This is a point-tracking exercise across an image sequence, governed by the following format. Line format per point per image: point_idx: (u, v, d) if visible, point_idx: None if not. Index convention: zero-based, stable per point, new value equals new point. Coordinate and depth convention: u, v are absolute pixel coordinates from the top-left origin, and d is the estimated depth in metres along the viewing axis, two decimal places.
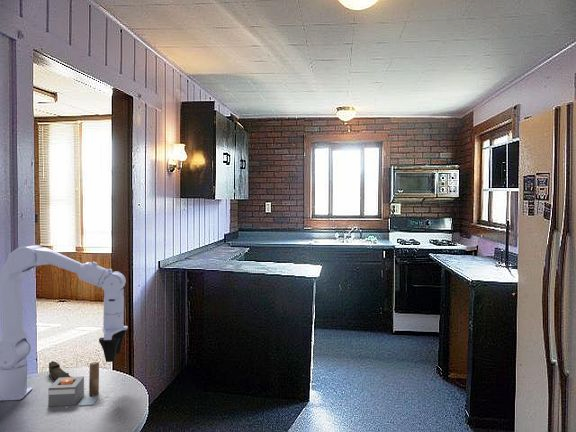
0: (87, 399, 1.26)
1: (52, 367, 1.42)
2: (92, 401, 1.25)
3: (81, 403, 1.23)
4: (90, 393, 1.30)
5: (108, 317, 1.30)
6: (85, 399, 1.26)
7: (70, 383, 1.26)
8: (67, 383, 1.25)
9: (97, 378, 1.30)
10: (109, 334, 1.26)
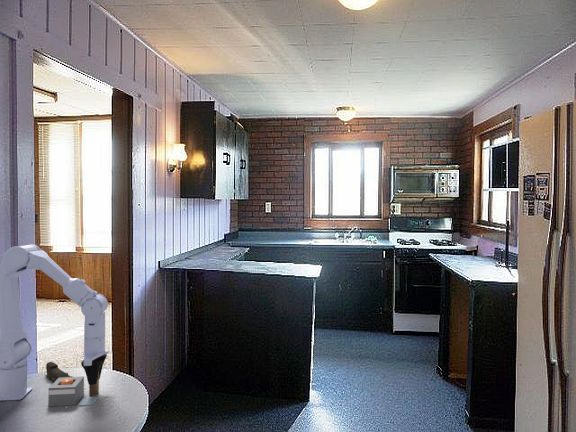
0: (87, 399, 1.26)
1: (50, 367, 1.42)
2: (92, 401, 1.25)
3: (81, 403, 1.23)
4: (90, 393, 1.30)
5: (88, 342, 1.28)
6: (85, 399, 1.26)
7: (70, 383, 1.26)
8: (67, 383, 1.25)
9: None
10: (89, 360, 1.24)
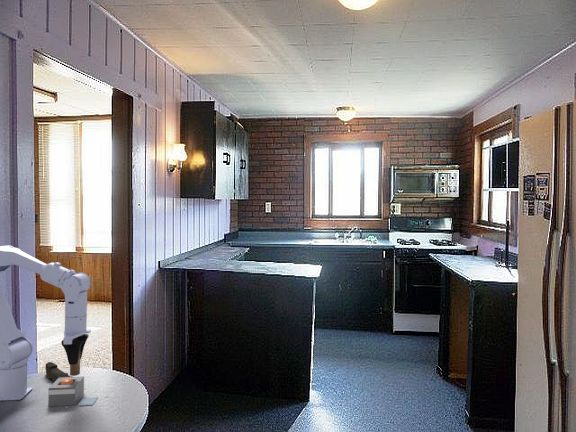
0: (87, 399, 1.26)
1: (50, 368, 1.42)
2: (92, 401, 1.25)
3: (81, 403, 1.23)
4: (71, 373, 1.27)
5: (69, 320, 1.25)
6: (85, 399, 1.26)
7: (70, 383, 1.26)
8: (67, 383, 1.25)
9: (79, 358, 1.27)
10: (69, 338, 1.21)
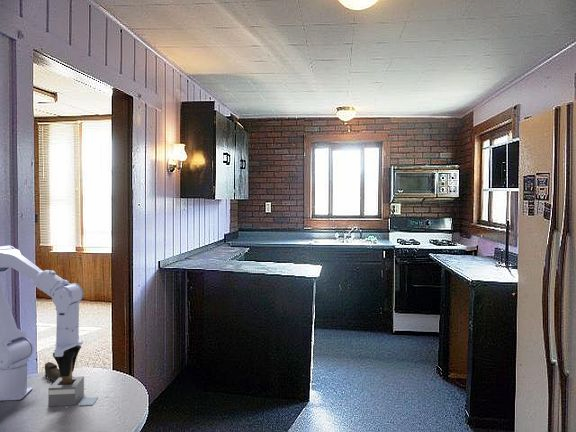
0: (87, 399, 1.26)
1: (49, 368, 1.42)
2: (92, 401, 1.25)
3: (81, 403, 1.23)
4: None
5: (61, 332, 1.24)
6: (85, 399, 1.26)
7: None
8: None
9: (71, 370, 1.26)
10: (60, 350, 1.19)
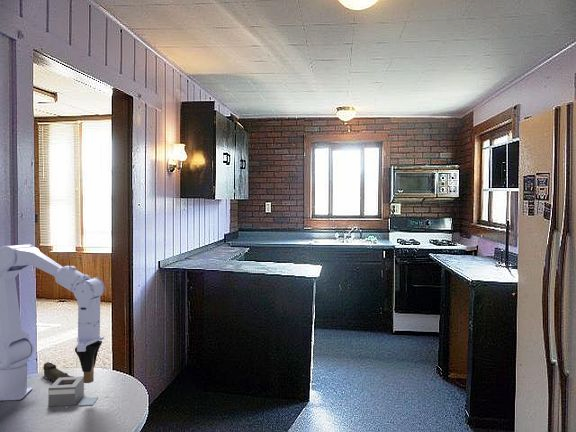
0: (87, 399, 1.26)
1: (48, 368, 1.41)
2: (92, 401, 1.25)
3: (81, 403, 1.23)
4: (84, 381, 1.24)
5: (82, 327, 1.22)
6: (85, 399, 1.26)
7: None
8: None
9: (92, 365, 1.25)
10: (83, 345, 1.18)
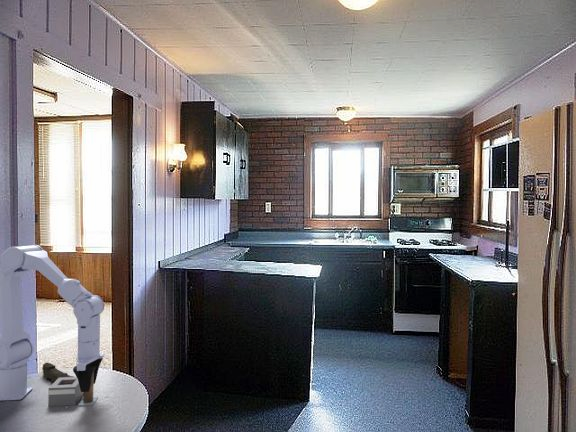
0: None
1: (48, 368, 1.41)
2: (92, 401, 1.25)
3: (81, 403, 1.23)
4: (84, 400, 1.24)
5: (82, 345, 1.22)
6: None
7: None
8: None
9: (92, 385, 1.25)
10: (82, 364, 1.18)
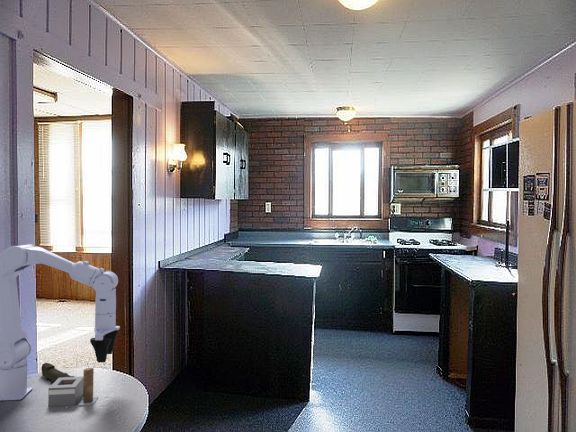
0: None
1: (47, 368, 1.41)
2: (92, 401, 1.25)
3: (81, 403, 1.23)
4: (84, 400, 1.24)
5: (100, 317, 1.29)
6: None
7: None
8: None
9: (92, 385, 1.25)
10: (100, 334, 1.24)
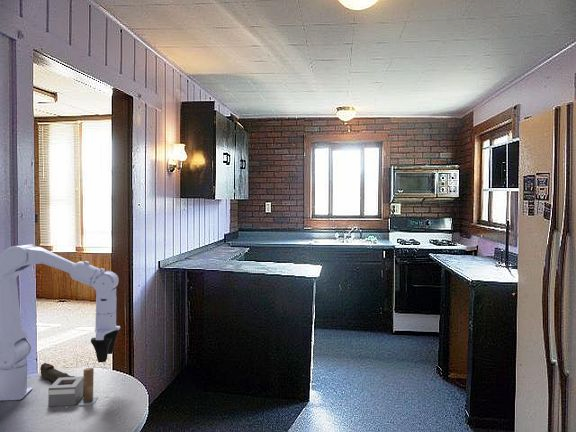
0: None
1: (47, 368, 1.41)
2: (92, 401, 1.25)
3: (81, 403, 1.23)
4: (84, 400, 1.24)
5: (100, 317, 1.29)
6: None
7: None
8: None
9: (92, 385, 1.25)
10: (101, 334, 1.25)
